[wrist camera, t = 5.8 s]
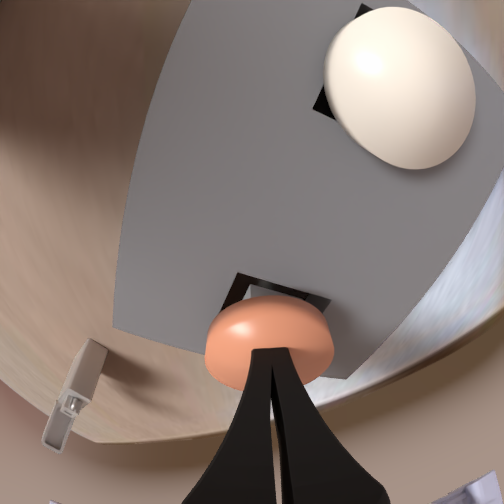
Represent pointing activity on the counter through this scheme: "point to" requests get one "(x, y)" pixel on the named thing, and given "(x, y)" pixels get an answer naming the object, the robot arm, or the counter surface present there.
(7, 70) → the counter surface
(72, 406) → the lighter
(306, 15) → the plate
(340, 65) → the cream button
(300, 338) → the terracotta button
